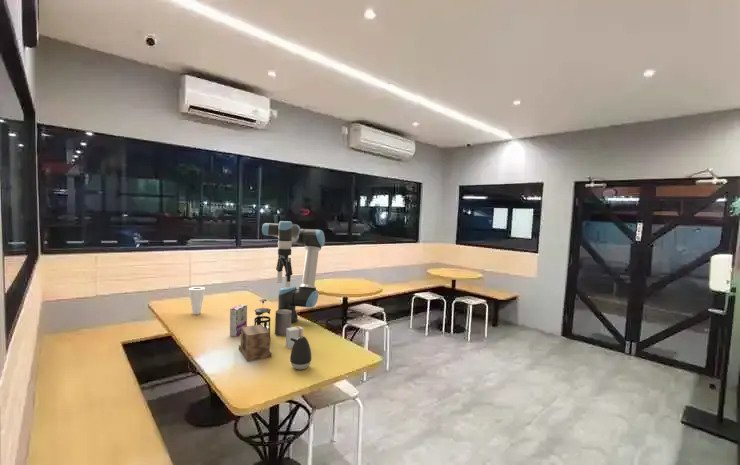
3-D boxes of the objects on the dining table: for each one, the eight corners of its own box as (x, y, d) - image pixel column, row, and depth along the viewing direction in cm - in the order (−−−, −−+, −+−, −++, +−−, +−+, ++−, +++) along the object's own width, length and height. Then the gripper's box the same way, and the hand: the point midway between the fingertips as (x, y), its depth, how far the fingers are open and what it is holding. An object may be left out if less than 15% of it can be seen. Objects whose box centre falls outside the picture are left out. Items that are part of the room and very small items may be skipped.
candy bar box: (239, 330, 219) (240, 304, 218) (247, 331, 218) (247, 304, 217) (229, 336, 208) (229, 308, 207) (236, 337, 207) (237, 309, 206)
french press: (273, 339, 206) (274, 300, 204) (257, 342, 200) (258, 302, 198) (265, 333, 215) (266, 296, 213) (249, 336, 209) (251, 298, 207)
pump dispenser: (290, 362, 175) (291, 332, 175) (312, 363, 176) (313, 333, 175) (287, 372, 165) (288, 340, 164) (310, 372, 166) (311, 340, 165)
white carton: (299, 343, 202) (299, 326, 201) (302, 346, 197) (303, 328, 197) (285, 345, 197) (286, 328, 197) (289, 348, 193) (289, 330, 192)
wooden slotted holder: (263, 345, 197) (263, 323, 196) (273, 356, 182) (274, 332, 181) (238, 349, 189) (239, 326, 189) (247, 361, 174) (248, 336, 174)
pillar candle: (271, 332, 217) (272, 308, 216) (285, 329, 224) (286, 306, 223) (280, 337, 211) (281, 312, 210) (294, 333, 218) (295, 309, 217)
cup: (208, 313, 251) (208, 288, 250) (193, 316, 242) (194, 290, 241) (199, 310, 257) (199, 286, 256) (185, 313, 248) (185, 288, 247)
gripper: (271, 246, 210) (270, 281, 211) (286, 250, 189) (284, 289, 190) (283, 245, 214) (282, 280, 215) (299, 250, 194) (297, 288, 195)
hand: (283, 284), depth 203 cm, fingers open, 13 cm apart
